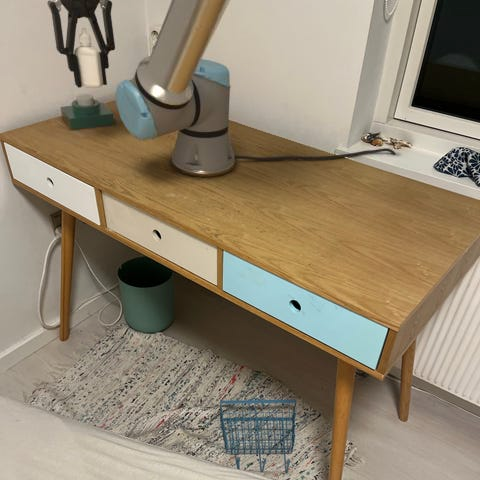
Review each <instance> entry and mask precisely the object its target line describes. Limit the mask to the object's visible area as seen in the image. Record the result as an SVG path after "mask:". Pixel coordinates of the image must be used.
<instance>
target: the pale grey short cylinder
mask: <svg viewBox="0 0 480 480" xmlns="http://www.w3.org/2000/svg"><path fill="white" fill-rule="evenodd" d="M93 99H94V96H93V95H92V94H87V93H82V94H78V95H76V100H77V105H80V106H90V105H93V104H94V100H93Z"/></svg>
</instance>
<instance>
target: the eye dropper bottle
mask: <svg viewBox="0 0 480 480" xmlns="http://www.w3.org/2000/svg"><path fill="white" fill-rule="evenodd" d="M78 38H79V45H80V46H77V47H76V48H74V53H73V54H75V55H76V56H77V59H78V66H79V73H80V80H81V87H85V88H91V89H98V88H102V86H104V85H103V76H102V68H101V60H100V53H99V52H100V50H98V49H97V48H95V47H94V46H92V38H91V35H90V34H88V33H87V30H86V28H85V27H81V34H79V35H78Z"/></svg>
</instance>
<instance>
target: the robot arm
mask: <svg viewBox="0 0 480 480" xmlns="http://www.w3.org/2000/svg"><path fill="white" fill-rule="evenodd" d="M230 1H231V0H171V1H170V4H169V6H168V9H167V11H166V14H165V17H164V20H163V22H162V24H161V27H160V30H159V32H158V34H157V38H156V40H155V44H154V46H153V48H152V51H151V54H150V55H148V56H146V57H143V59H141V60H140V61H139V63H138V65H137V67H136V70H135V72H134V76H133V77H132V78H131V79H124V80H123V81H121V82H119V83H118V84H117V86H116V89H115V103H116V108H117V111H118V114H119V117H120V119H121V122H122V124H123V125H124V127H125V128H126V130H127V131H128V132H129V133H130V134H131V135H132V136H133V138H135V139H138V140H141V141H146V140H151V139H153V140H154V139H156V138H160V137H162V136H165V135H169V134H172V133H175V132H178V133H177V138H176V140H175V143H174V147H173V151H172V154H171V155H172V156H171V163H172V167H173V168H174V169H175V170H176V171H178V172H179V173H181V174H185V175H187V176H192V177H198V178H213V177H218V176H222V175H225V174H227V173H230V172H231V171H232V170H233V169H234V168H235V163H236V162H235V161H236V159H237V160H248V161H249V160H250V161H251V160H252V161H281V160H309V161H310V160H314V161H316V160H331V159H332V160H333V159H341V158H350V157H355V156H356V157H357V156H360V155H366V154H376V153H382V152H389V153H390V154H392V155H393V156H396V155H397V153H396V152H395V151H394V150H393V149H391V148H387V147H386V148H378V149H370V150H369V149H368V150H362V151H357V152H351V153H344V154H343V153H342V154H335V155H322V156H321V155H320V156H303V155H301V156H300V155H299V156H298V155H286V156H285V155H284V156H283V155H282V156H264V157H263V156H261V157H260V156H248V155H235V153H234V149H233V146H232V142H231V138H230V136H229V118H230V97H231V96H230V94H231V84H230V83H231V82H230V80H231V78H230V70H229V68H228V67H227V66H226V65H224V64H222V63H220V62H218V61H213V60H209V59H203V57H204V54H205V53H206V51H207V48H208V47H209V44H210V43H211V41H212V39H213V36H214V35H215V33H216V30H217V28H218V26H219V25H220V22H221V20H222V18H223V16H224V14H225V12H226V10H227V8H228V6H229V3H230ZM46 2H47V7H48V8H49V11H50V13H51V19H52V26H53V33H54V41H55V47H56V51H57V52H58V53H59V54H60V55H65V56H66V63H67V68H68V70H69V71H70V72H71V73H72V72H73V78H74V85H75V86H76V87H77V88H78V89H79V88H82V86H81V80H80V73H79V66H78V59H77V56H76V55H75V54H74V51H75V42H76V33H77V25H78V20H79V19H83V18H86V19H87V20H88V22H89V24H90V25H89V26H90V27H91V31H92V33H93V35H94V38H95V40H96V43H97V46H98V48H99V53H100V60H101V68H102V76H103V85H102V86H108V82H107V81H108V80H107V71H106V70H107V69H109V68H110V64H109V63H110V62H109V53H110V52H111V51H115V50H116V42H115V35H114V27H113V20H112V8H113V2H112V1H111V0H48V1H46ZM61 6H63V7H64V9H65V10H66V11H67V27H66V39H65V42H64V34H63V25H62V19H61V14H60V12H61V11H62V7H61ZM97 7H100V9H101V13H102V20H103V21H102V22H103V28H104V34H105V35H104V36H105V39H104V36H103V33H102V30H101V28H100V25H99V22H98V18H97V16H96V10H97Z"/></svg>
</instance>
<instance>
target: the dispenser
mask: <svg viewBox="0 0 480 480" xmlns="http://www.w3.org/2000/svg"><path fill="white" fill-rule="evenodd" d="M93 100H94V104H93V105H90V106H80V105H77V99H74V100H72V102H71V104H70V105H67V106H59V107H60V112H61V117H62V119H63V121H64V122H65V124H66V125H67V127H68V128H69V129H70V131H75V130H84V129H90V128H98V127H105V126H106V127H107V126H113V125H115V118H114V112H113V111H112V110H110V108H108V106H107V105H106V104H105V103H104V102H102V101H101V102H100V101H99V100H98V99H95V98H93Z"/></svg>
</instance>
